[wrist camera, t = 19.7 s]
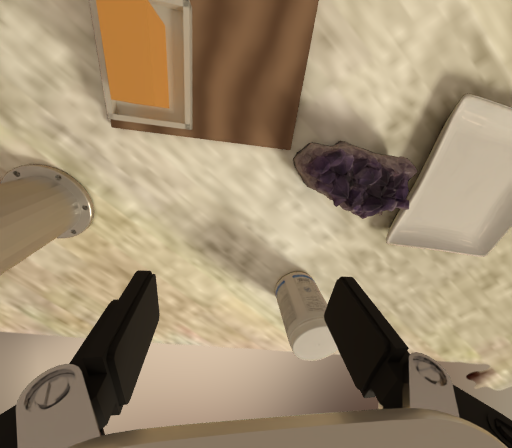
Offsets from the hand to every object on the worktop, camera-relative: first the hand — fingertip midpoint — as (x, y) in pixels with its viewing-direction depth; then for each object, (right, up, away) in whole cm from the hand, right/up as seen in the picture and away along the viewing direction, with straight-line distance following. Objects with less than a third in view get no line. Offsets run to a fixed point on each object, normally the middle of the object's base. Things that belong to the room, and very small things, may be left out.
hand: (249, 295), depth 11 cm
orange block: (-14, +24, +16) cm, 32 cm away
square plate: (+42, +11, +32) cm, 54 cm away
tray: (-14, +24, +17) cm, 33 cm away
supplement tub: (+9, -11, +39) cm, 41 cm away
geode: (+16, +13, +28) cm, 35 cm away
